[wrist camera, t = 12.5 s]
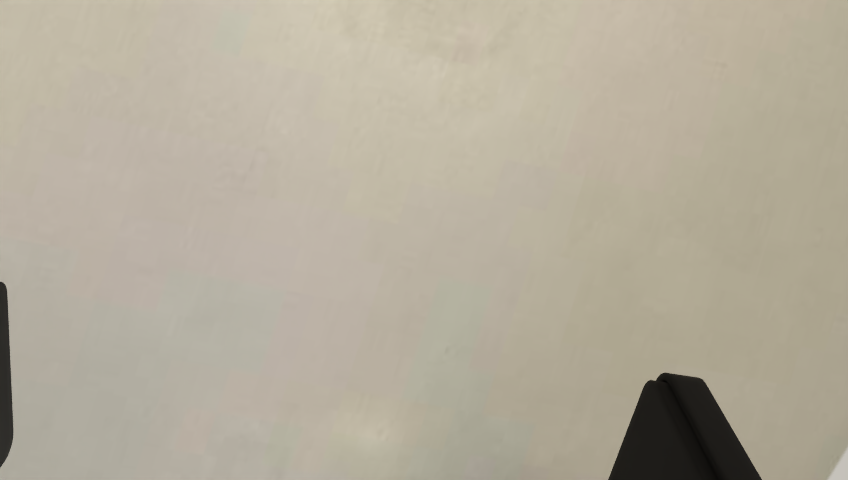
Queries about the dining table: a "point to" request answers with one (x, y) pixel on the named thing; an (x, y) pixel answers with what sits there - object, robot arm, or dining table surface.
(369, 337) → the dining table surface
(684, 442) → the robot arm
